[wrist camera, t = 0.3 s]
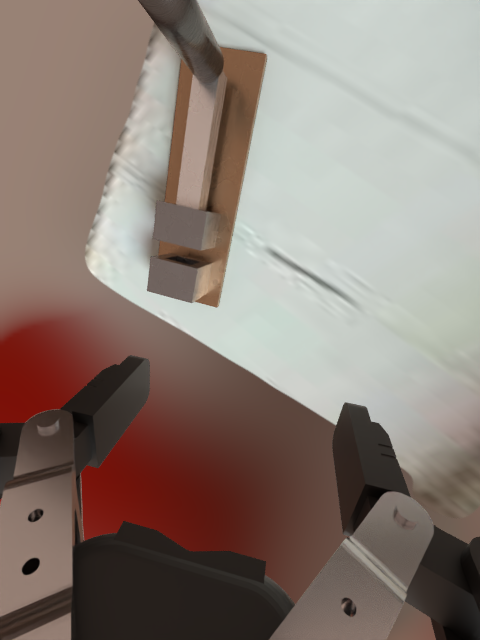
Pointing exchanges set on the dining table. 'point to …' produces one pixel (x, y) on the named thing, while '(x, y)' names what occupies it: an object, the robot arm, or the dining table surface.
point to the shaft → (195, 92)
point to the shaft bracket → (224, 193)
